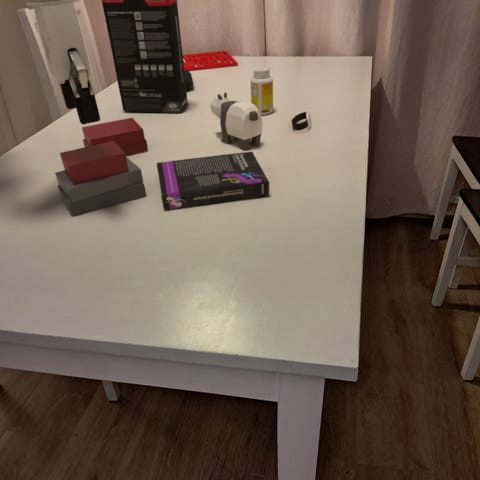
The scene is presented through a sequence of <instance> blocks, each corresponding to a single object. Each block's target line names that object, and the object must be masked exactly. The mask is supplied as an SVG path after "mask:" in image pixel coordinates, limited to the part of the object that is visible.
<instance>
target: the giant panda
mask: <svg viewBox="0 0 480 480" xmlns="http://www.w3.org/2000/svg"><path fill="white" fill-rule="evenodd" d="M209 105H210V106H209V107H210V109H211V113H212V114H213V115H214V116H215V117H216V118H218V119H219V120H220V122H219V124H220V130H221V136H222V137H221V140H220V141H221V143H224V144H231V143H232V142H233V140H232V138H233V139H235V140H236V139H237V140H239V141H240V144H239V146H238V148H239V149H241V150H244V151H247V150H249V149H250V148H251V147H250V145H251V146H255V147H257V146H259V145H261V137H262V132H263V118H262V115H261V114H260V112H259V110H258V109H257V107H256V106H255V105H254V104H252V103H251V102H249V101H237V100H230V99H229V98H228V93H227V92H226V91H224V93H223V95H221V94H220V93H218V94H217V96H216V97H214V98H213V101H212V102H210V104H209Z"/></svg>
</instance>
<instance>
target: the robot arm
mask: <svg viewBox="0 0 480 480" xmlns="http://www.w3.org/2000/svg"><path fill="white" fill-rule="evenodd" d="M24 1H25V5H26V6H27V7H33V10H34V16H35V21H36V24H37V28H38V32H39V36H40V41H41V43H42V44H41V45H42V47H43V48H42V49H43V51H44V56H45V59H46V62H47V66H48V70H49V72H50V74H51V75H52V76H53V77H54V78H55V79H56V80H57V81H59V82H60V83H59V85H60V89H61V93H62V97H63V101H64V103H65V107H66V109H68V110H73V109H75V110H76V112H77V116H78V120H79V123H80V124H81V125H88V124H92V123H97V122H100V121H101V115H100V111H99V107H98V103H97V99H96V95H95V93H94V92H95V91H94V89H93V87H92V83H91V80H90V79H89V78H90V77H91V75H92V73H91V72H92V71H91V66H90V61H89V58H88V53H87V48H86V45H85V41H84V37H83V33H82V29H81V26H80V25H81V24H80V23H79V22H80V21H79V18H78V15H77V12H76V8H75V5H74V3H76V2H78V1H80V0H24Z"/></svg>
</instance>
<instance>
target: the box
mask: <svg viewBox="0 0 480 480" xmlns="http://www.w3.org/2000/svg"><path fill="white" fill-rule="evenodd" d="M156 169H157V175H158V182H159V189H160V197H161V203H162V207H163V210H164V211H167V210H168V211H169V210H174V209H181V208H188V207H195V206H202V205H209V204H211V205H212V204H218V203H224V202H232V201H239V200H246V199H253V198H261V197H268V196H270V183H271V182H270V180H269V178H268V177H267V176H266V174H265V172H264V170H263V168H262V166H261V165H260V163H259V161H258V160H257V157H256V155H255V153H254V152H253V151H245V152H244V151H243V152H235V153H227V154H226V153H225V154H217V155H211V156H202V157H193V158H184V159H177V160H168V161H160V162H157V163H156Z"/></svg>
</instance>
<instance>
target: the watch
mask: <svg viewBox="0 0 480 480" xmlns="http://www.w3.org/2000/svg"><path fill="white" fill-rule="evenodd" d="M303 120H304V121H303ZM300 121H302V122H300ZM291 125H292V128H293V130H294V131H304V130H305V129H307V128H311V127H312V118H311V114H310V112H309V111H308V110H307V111H303V112H299V113H298V114H296V115H295V116H294V117H293V118H292V119H291Z"/></svg>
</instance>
